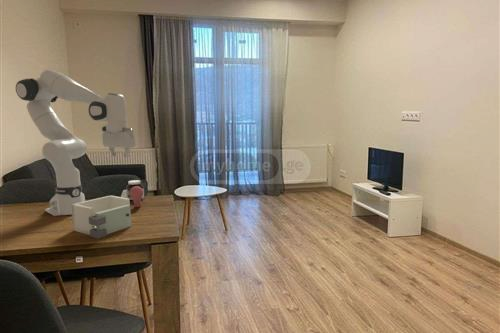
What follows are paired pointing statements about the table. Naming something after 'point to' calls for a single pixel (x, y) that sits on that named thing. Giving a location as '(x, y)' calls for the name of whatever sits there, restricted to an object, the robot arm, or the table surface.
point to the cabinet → (86, 214)
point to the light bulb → (136, 195)
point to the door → (115, 218)
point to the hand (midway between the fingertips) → (119, 156)
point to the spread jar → (131, 184)
